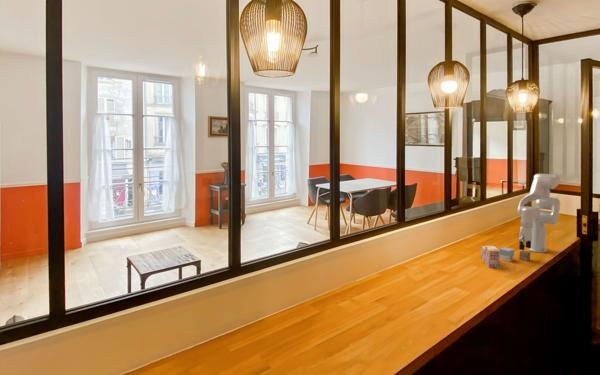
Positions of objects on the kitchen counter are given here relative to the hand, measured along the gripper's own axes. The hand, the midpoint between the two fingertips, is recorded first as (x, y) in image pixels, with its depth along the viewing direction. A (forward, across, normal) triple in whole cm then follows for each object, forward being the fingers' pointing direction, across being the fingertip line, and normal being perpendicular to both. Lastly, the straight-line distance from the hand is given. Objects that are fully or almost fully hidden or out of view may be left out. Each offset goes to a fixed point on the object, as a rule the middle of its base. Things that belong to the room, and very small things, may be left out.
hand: (524, 248), depth 273 cm
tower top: (+5, +9, -8) cm, 13 cm away
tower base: (+9, +9, -8) cm, 15 cm away
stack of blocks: (+10, +26, -12) cm, 30 cm away
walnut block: (+8, -1, 0) cm, 8 cm away
